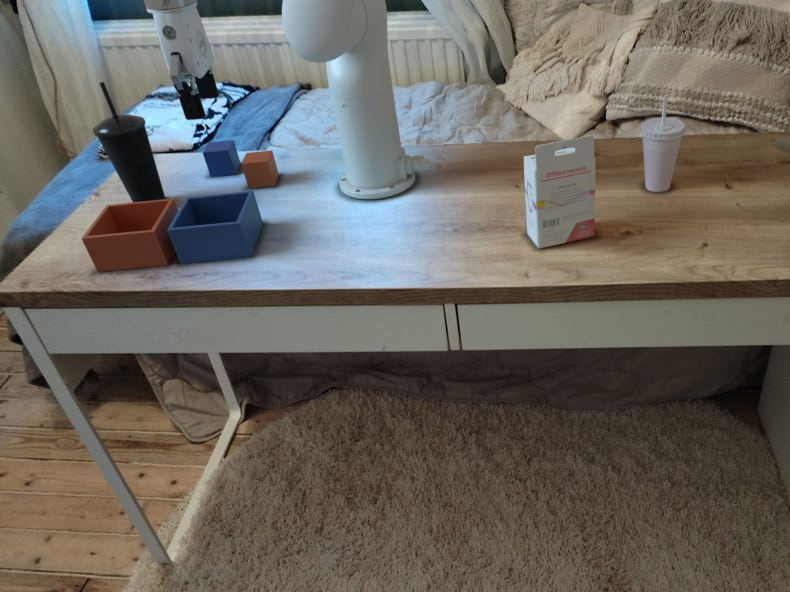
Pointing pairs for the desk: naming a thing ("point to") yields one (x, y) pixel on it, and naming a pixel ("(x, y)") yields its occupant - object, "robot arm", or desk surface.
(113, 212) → the terracotta bin
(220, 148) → the blue block
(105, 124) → the drinking cup
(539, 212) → the ink cartridge box
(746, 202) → the desk surface
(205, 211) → the blue bin
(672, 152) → the smoothie
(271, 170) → the terracotta block
